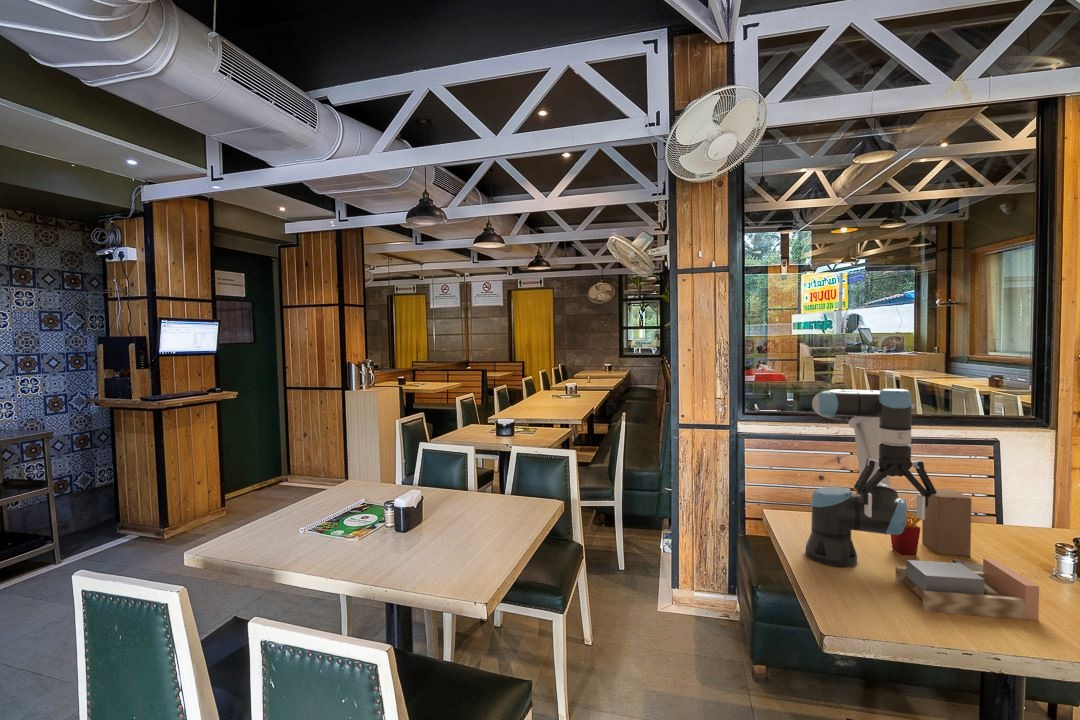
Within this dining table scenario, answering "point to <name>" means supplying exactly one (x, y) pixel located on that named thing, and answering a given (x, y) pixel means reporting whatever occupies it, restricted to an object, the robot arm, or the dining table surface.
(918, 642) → the dining table surface
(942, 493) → the wooden block
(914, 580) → the slab
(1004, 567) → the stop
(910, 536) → the french fries
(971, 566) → the stone
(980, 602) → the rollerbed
